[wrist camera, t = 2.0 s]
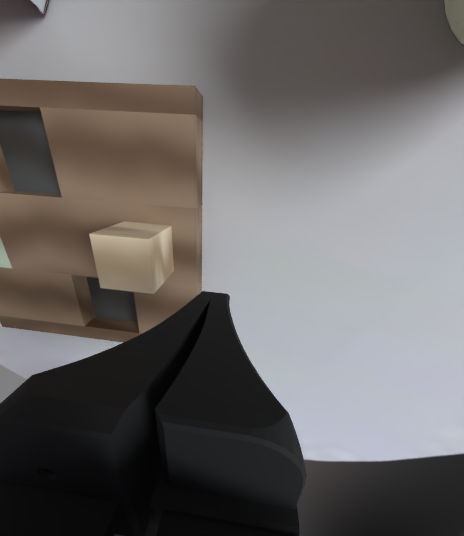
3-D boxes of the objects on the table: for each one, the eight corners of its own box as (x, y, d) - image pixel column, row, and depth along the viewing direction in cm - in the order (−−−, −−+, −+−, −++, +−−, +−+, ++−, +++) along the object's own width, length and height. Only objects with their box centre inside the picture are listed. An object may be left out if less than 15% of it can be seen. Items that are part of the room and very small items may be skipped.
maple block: (173, 270, 19) (154, 293, 15) (130, 266, 19) (100, 287, 16) (171, 225, 17) (148, 239, 14) (123, 221, 18) (89, 233, 14)
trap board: (201, 338, 24) (196, 351, 22) (20, 315, 26) (2, 326, 24) (202, 96, 15) (195, 86, 14) (-72, 85, 17) (-112, 74, 15)
